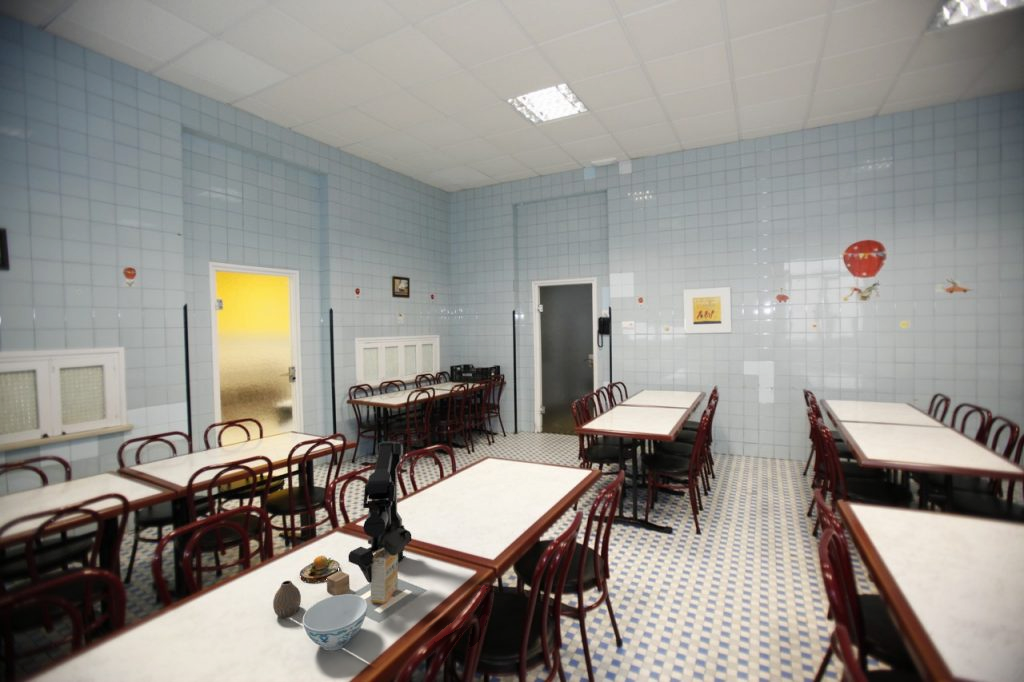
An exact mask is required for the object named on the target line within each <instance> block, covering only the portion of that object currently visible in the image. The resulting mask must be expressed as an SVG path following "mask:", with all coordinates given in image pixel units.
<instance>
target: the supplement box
mask: <svg viewBox="0 0 1024 682" xmlns="http://www.w3.org/2000/svg"><path fill="white" fill-rule="evenodd" d="M372 561H374V563H373V564H372V566H371V572H372V579H371V602H374V603H380V604H385V603H386V602H387V601H388V599H389V598H390V597H391V595H392V594H393V593H394V592H395V591H396V590H397V588H398V579H399V575H398V574H399V573H398V572H399V562H398V554H397V555H395V556H392V555H390V554H389V552H388V551H386V550H385V549H382V550H380V551H378V552H376V553H374V554H373V560H372Z"/></svg>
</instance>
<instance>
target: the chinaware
mask: <svg viewBox="0 0 1024 682" xmlns="http://www.w3.org/2000/svg"><path fill="white" fill-rule="evenodd" d="M366 611H367V602H366V601H365V599H364V598H362V597H360V596H357V595H352V593H350V594H348V593H347V594H344V593H342V594H340V595H336V596H335V595H333V596H330V597H327V598H324V599H321V600H319V601H317V602H316V603H314V604H313V605H312V606H310V607H309V608H308V609H307V610H306V611H305V613H304V615H303V616H302V625H303V628H304V630H305V632H306V634H307V637H309V639H310V640H311V641H312V642H313V643H315V644H316V645H318V646H320V647H322V648H323V649H324V650H326V651H329V652H330V651H337V650H341V649H343V648H344V645H345V644H347V643H349V641H350V640H351V639H353V638H354V637H355V635H357V634H358V632H359V630H360V629H361V627H362V626H363V624H364V621H365V619H366V616H365V615H366Z"/></svg>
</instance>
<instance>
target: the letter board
mask: <svg viewBox="0 0 1024 682" xmlns="http://www.w3.org/2000/svg"><path fill="white" fill-rule="evenodd" d="M427 591H428V589H425V588H423V587H421V586H419V585H415V584H413V583H411V582H408V581H405V580H403V579H401V578H398V588H397V590H396V591H395V592H394V593H393V594H392V595H391V597H390V598H389V599H388V601H387V602H386V603H385V604H380V603H374V602H371V583H368V584H367V585H365V586H362V587H361V588H359V589H357V590H356V591H354V592H352V593H351V594H352V595H357V596H360V597H362V598H364V599H365V601H366V602H367V611H366V615H365V618H368V619H370V620H372V621H374V622H376V623H378V624H380V623H381V622H383V621H384V620H385V619H387V618H389V617H391V616H392V615H393V614H395V613H396V612H397V611H399V610H401V609H402V608H403V607H405V606H406V605H408V604H409V603H411V602H413V601H414V600H415V599H417V598H418V597H420V596H421V595H423V594H425V593H426V592H427Z"/></svg>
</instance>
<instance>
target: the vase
mask: <svg viewBox="0 0 1024 682" xmlns="http://www.w3.org/2000/svg"><path fill="white" fill-rule="evenodd" d="M301 595H302V594H301V592H300V589H299V588H298V587H297V586H296V585H295V584H293V582H292V580H284V581H282V582H281V584H280V587H279V588H278V590H277V591H276V592H275V594H274V597H273V601H272V607H273V611H274V613H275V614H276V616H277V617H279V618H281V619H288V618H290V616H293V615H294V614H296V613H297V612H298V610H299V609H300V607H301V606H300V605H301V604H302V603H301V601H302V596H301Z"/></svg>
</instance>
